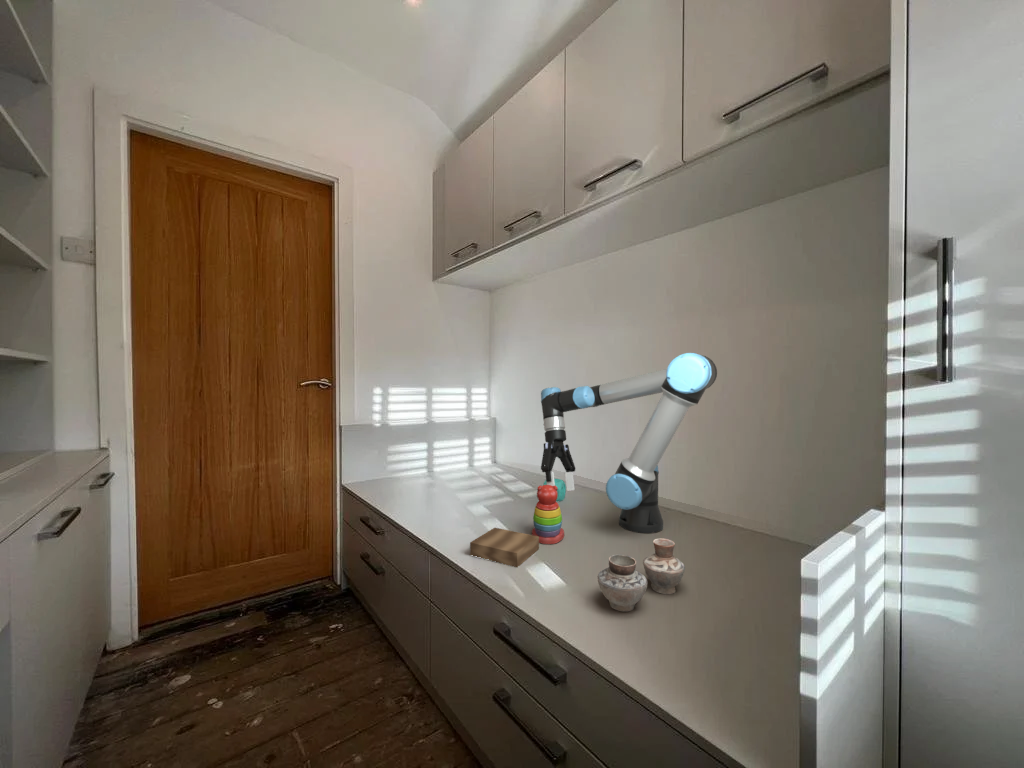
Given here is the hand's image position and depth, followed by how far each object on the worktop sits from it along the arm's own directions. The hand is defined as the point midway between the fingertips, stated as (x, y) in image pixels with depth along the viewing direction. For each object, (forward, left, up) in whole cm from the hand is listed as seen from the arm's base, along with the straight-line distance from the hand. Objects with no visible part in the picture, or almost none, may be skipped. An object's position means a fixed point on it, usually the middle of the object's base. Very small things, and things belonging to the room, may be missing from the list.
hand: (561, 491), depth 147 cm
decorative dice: (+17, -33, -14) cm, 39 cm away
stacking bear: (+1, +9, -13) cm, 16 cm away
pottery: (-34, +31, -14) cm, 48 cm away
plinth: (+8, +25, -14) cm, 30 cm away
